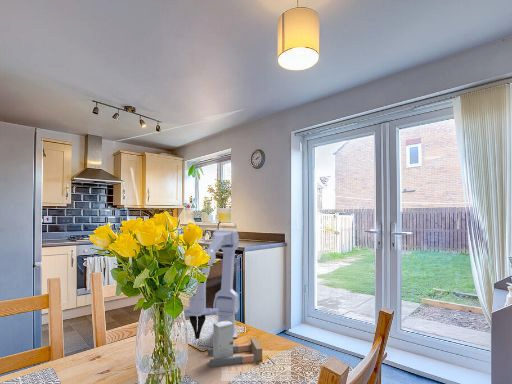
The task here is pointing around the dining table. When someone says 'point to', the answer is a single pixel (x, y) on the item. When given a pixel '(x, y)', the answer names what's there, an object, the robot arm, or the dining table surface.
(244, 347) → the guide channel
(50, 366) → the dining table surface
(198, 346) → the dining table surface
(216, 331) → the skincare box
